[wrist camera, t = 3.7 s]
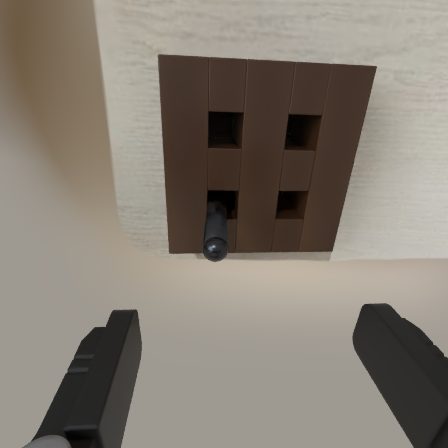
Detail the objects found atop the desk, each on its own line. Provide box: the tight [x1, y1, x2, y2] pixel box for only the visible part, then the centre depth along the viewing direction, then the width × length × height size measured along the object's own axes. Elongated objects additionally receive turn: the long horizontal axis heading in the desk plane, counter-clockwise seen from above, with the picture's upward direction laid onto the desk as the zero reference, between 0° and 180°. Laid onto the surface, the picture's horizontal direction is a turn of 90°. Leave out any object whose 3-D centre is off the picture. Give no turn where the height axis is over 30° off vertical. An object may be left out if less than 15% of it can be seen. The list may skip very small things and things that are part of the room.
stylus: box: [202, 190, 228, 262], centre depth 20 cm, size 1×1×13 cm
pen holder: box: [158, 54, 377, 254], centre depth 22 cm, size 14×14×6 cm
